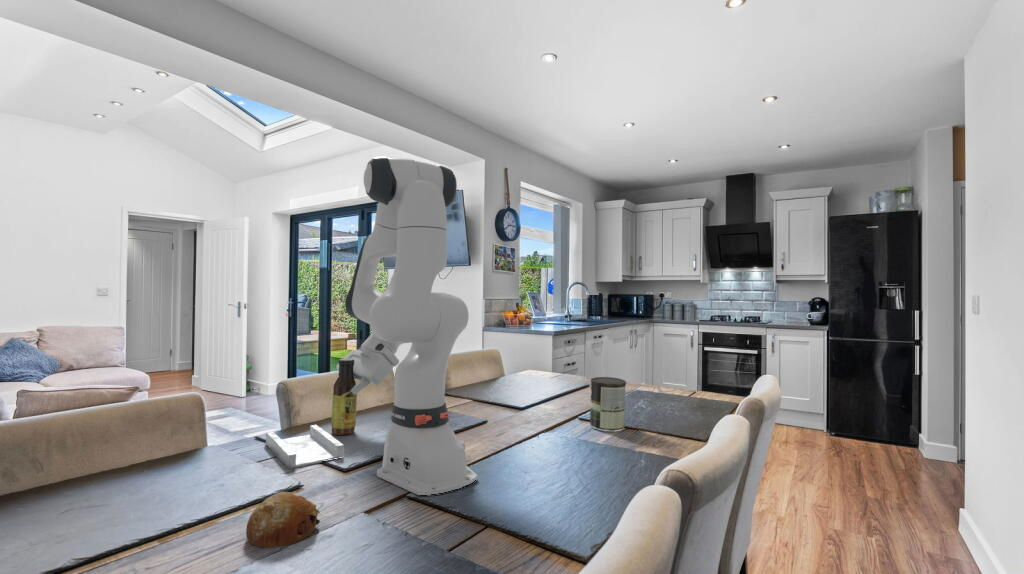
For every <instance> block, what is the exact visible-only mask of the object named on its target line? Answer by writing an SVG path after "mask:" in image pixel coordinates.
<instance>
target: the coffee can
mask: <svg viewBox="0 0 1024 574" xmlns="http://www.w3.org/2000/svg"><path fill="white" fill-rule="evenodd" d="M626 385H627V381H626V380H624V379H622V378H617V377H611V376H610V377H609V376H606V377H605V376H598V377H597V376H596V377H592V378H590V413H589V414H590V416H589V417H590V420H589V427H590V426H591V427H593V428H596V429H601V430H609V431H615V430H621V429H623V428H624V429H625V414H626V413H625V411H626V410H625V407H626ZM591 427H590V428H591Z"/></svg>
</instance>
